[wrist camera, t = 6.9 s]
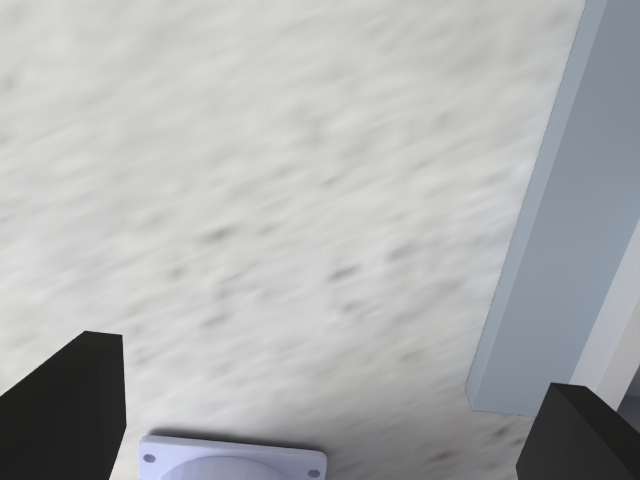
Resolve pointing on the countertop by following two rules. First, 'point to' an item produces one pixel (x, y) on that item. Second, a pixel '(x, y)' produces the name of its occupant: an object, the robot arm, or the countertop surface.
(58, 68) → the countertop surface
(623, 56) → the floor track
